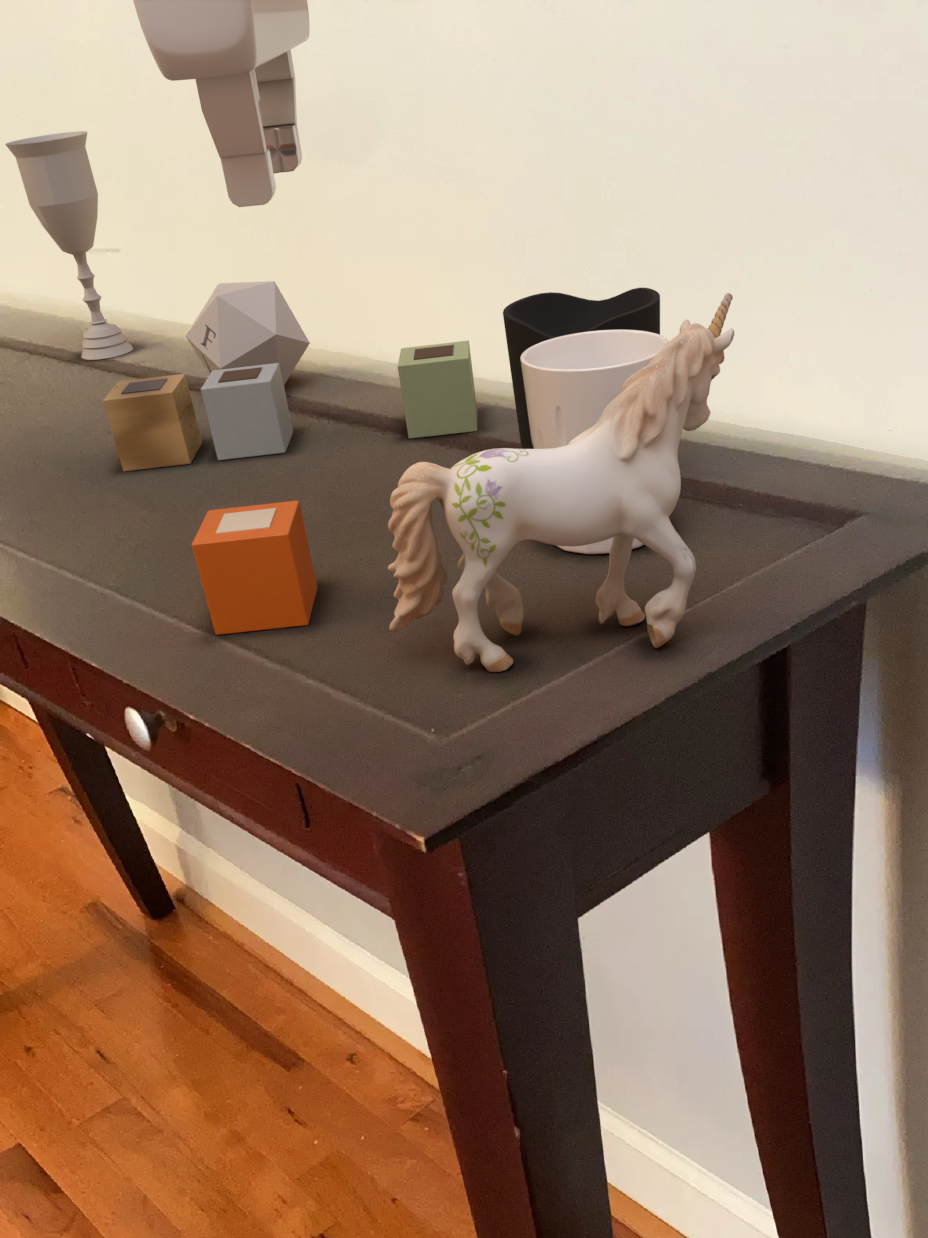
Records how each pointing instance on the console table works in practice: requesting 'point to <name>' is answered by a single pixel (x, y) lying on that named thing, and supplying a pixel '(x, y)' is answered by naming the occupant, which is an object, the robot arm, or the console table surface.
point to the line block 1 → (153, 422)
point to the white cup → (581, 387)
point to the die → (247, 329)
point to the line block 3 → (438, 389)
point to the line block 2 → (247, 411)
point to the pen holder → (569, 328)
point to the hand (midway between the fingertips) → (270, 186)
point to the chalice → (69, 219)
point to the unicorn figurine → (564, 502)
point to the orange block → (256, 567)
